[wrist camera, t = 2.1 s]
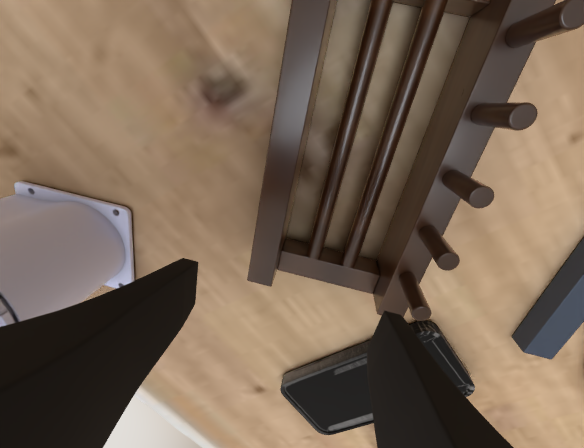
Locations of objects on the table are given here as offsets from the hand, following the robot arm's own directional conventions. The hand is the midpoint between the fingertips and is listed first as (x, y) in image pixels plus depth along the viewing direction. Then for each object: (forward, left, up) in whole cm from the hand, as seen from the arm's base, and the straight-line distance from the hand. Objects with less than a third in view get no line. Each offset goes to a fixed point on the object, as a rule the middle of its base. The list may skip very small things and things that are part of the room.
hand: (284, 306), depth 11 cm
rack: (+2, +5, -10) cm, 11 cm away
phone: (+9, -14, -10) cm, 19 cm away
